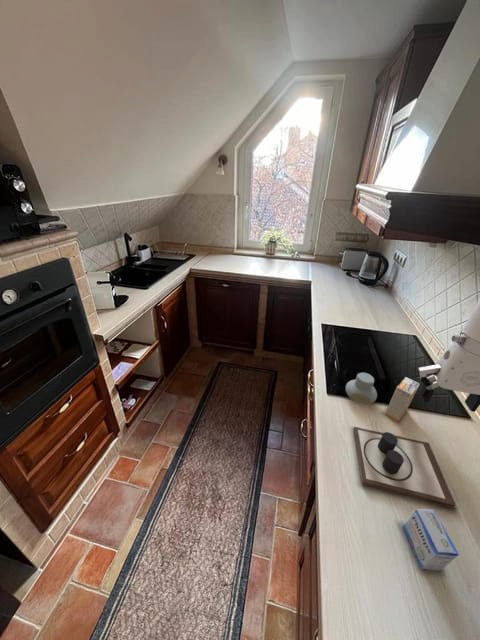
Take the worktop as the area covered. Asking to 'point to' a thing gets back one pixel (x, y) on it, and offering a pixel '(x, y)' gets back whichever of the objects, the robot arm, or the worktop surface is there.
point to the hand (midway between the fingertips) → (446, 402)
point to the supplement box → (402, 398)
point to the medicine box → (429, 540)
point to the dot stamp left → (387, 442)
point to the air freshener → (362, 389)
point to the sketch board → (402, 469)
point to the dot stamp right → (392, 462)
